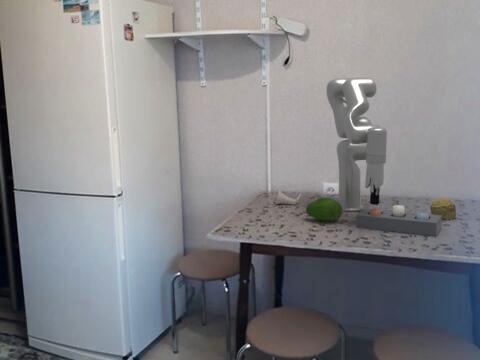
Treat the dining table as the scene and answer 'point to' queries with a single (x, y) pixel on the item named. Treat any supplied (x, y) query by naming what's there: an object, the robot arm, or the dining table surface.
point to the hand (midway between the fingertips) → (374, 204)
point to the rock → (443, 208)
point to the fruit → (324, 209)
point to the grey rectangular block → (399, 222)
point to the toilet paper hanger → (286, 199)
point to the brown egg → (375, 211)
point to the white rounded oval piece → (398, 211)
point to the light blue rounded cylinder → (423, 216)
